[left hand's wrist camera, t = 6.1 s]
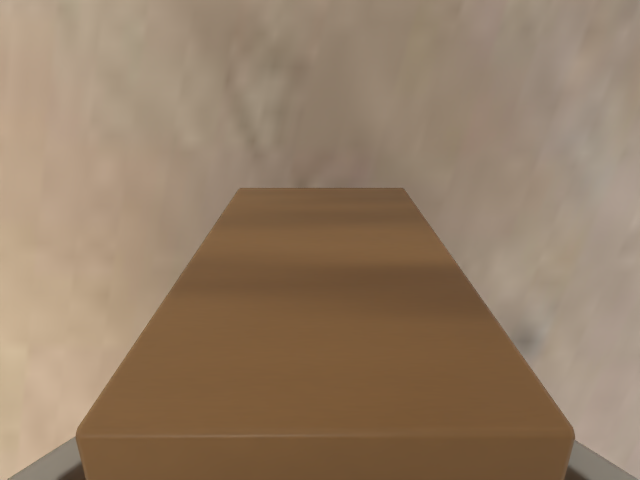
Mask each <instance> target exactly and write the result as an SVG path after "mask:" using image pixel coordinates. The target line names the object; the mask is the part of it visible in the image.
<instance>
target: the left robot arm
mask: <svg viewBox="0 0 640 480" xmlns="http://www.w3.org/2000/svg"><path fill="white" fill-rule="evenodd" d="M75 438H76V436H75V437H74V438H72V439H70V440H69V441H67V442H66V443H64V444H62V445H61V446H59V447H58V448H56V449H55V450H53V451H51V452H50V453H48V454H47V455H45V456H43V457H42V458H40V459H39V460H37V461H36V462H34V463H32V464H31V465H29V466H28V467H26V468H24V469H23V470H21V471H20V472H18V473H17V474H15V475H13V476H12V477H10V478H9V479H8V480H86V478H85V474H84V470H83V466H82V462H81V458H80V454H79V451H78V447H77V443H76V439H75ZM564 480H638V479H637V478H635V477H633V476H632V475H630V474H629V473H627V472H625V471H624V470H622V469H621V468H619V467H617V466H616V465H614V464H613V463H611V462H609V461H608V460H606V459H605V458H603V457H601V456H600V455H598V454H597V453H595V452H593V451H592V450H590V449H589V448H587V447H586V446H584V445H582V444H581V443H579V442H578V441H576V440H574V444H573V448H572V452H571V455H570V459H569V463H568V467H567V471H566V475H565V478H564Z"/></svg>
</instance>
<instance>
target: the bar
mask: <svg viewBox="0 0 640 480" xmlns="http://www.w3.org/2000/svg"><path fill="white" fill-rule="evenodd" d="M75 439H76V443H77V447H78V451H79V454H80V458H81V462H82V466H83V470H84V474H85V478H86V480H564V478H565V475H566V471H567V467H568V463H569V459H570V455H571V452H572V448H573V444H574V440H575V434H574V430H573V427H572V426H571V424H570V423H569V421H568V420H567V419H566V417H565V416H564V414H563V413H562V412H561V410H560V409H559V407H558V406H557V405H556V403H555V402H554V400H553V399H552V397H551V396H550V395H549V393H548V392H547V390H546V389H545V388H544V386H543V385H542V383H541V382H540V380H539V379H538V378H537V376H536V375H535V373H534V372H533V371H532V369H531V368H530V366H529V365H528V364H527V362H526V361H525V359H524V358H523V356H522V355H521V354H520V352H519V351H518V349H517V348H516V347H515V345H514V344H513V342H512V341H511V340H510V338H509V337H508V335H507V334H506V332H505V331H504V330H503V328H502V327H501V325H500V324H499V323H498V321H497V320H496V318H495V317H494V315H493V314H492V313H491V311H490V310H489V308H488V307H487V306H486V304H485V303H484V301H483V300H482V299H481V297H480V296H479V294H478V293H477V291H476V290H475V289H474V287H473V286H472V284H471V283H470V282H469V280H468V279H467V277H466V276H465V274H464V273H463V272H462V270H461V269H460V267H459V266H458V265H457V263H456V262H455V260H454V259H453V258H452V256H451V255H450V253H449V252H448V250H447V249H446V248H445V246H444V245H443V243H442V242H441V241H440V239H439V238H438V236H437V235H436V233H435V232H434V231H433V229H432V228H431V226H430V225H429V224H428V222H427V221H426V219H425V218H424V217H423V215H422V214H421V212H420V211H419V209H418V208H417V207H416V205H415V204H414V202H413V201H412V200H411V198H410V197H409V195H408V194H407V193H406V191H405V190H404V189H403V188H240V189H238V191H237V192H236V194H235V195H234V197H233V198H232V200H231V201H230V203H229V204H228V206H227V207H226V209H225V210H224V212H223V213H222V215H221V216H220V218H219V219H218V221H217V222H216V224H215V225H214V227H213V228H212V229H211V231H210V232H209V234H208V235H207V237H206V238H205V240H204V241H203V243H202V244H201V246H200V247H199V249H198V250H197V252H196V253H195V255H194V256H193V258H192V259H191V261H190V262H189V264H188V265H187V267H186V268H185V270H184V271H183V272H182V274H181V275H180V277H179V278H178V280H177V281H176V283H175V284H174V286H173V287H172V289H171V290H170V292H169V293H168V295H167V296H166V298H165V299H164V301H163V302H162V304H161V305H160V307H159V308H158V310H157V311H156V313H155V314H154V315H153V317H152V318H151V320H150V321H149V323H148V324H147V326H146V327H145V329H144V330H143V332H142V333H141V335H140V336H139V338H138V339H137V341H136V342H135V344H134V345H133V347H132V348H131V350H130V351H129V353H128V354H127V356H126V357H125V359H124V360H123V361H122V363H121V364H120V366H119V367H118V369H117V370H116V372H115V373H114V375H113V376H112V378H111V379H110V381H109V382H108V384H107V385H106V387H105V388H104V390H103V391H102V393H101V394H100V396H99V397H98V399H97V400H96V402H95V403H94V404H93V406H92V407H91V409H90V410H89V412H88V413H87V415H86V416H85V418H84V419H83V421H82V422H81V424H80V425H79V427H78V428H77V432H76V438H75Z"/></svg>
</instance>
